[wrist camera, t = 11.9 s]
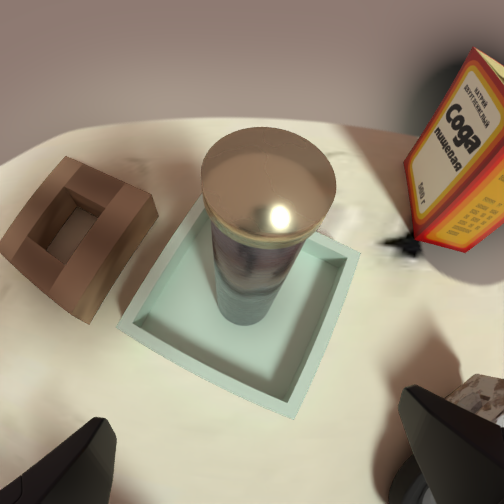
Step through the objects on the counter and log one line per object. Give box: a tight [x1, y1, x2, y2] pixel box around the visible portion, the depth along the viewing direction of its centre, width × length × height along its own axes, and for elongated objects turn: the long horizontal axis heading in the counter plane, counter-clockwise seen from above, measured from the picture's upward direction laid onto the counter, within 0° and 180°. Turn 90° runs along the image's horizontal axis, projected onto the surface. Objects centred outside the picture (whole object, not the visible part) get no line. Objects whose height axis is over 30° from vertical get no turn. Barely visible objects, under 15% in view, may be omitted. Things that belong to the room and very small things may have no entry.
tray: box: [116, 194, 361, 420], centre depth 20 cm, size 12×12×2 cm
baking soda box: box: [404, 47, 504, 253], centre depth 19 cm, size 10×6×16 cm
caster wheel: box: [389, 374, 504, 504], centre depth 14 cm, size 7×11×10 cm
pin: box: [201, 127, 336, 326], centre depth 15 cm, size 4×4×13 cm
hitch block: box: [0, 156, 159, 324], centre depth 21 cm, size 10×10×3 cm
